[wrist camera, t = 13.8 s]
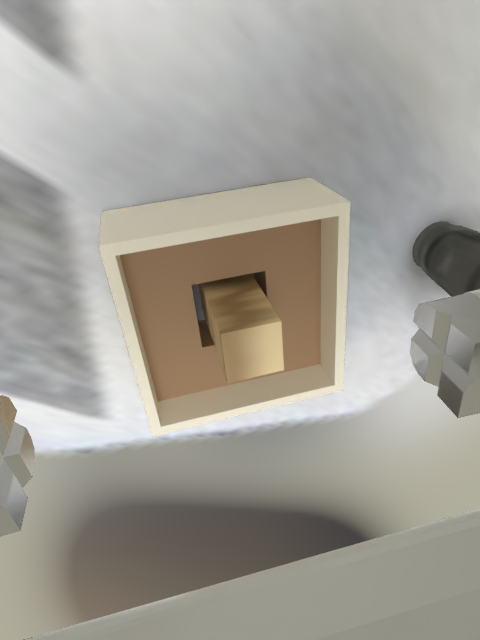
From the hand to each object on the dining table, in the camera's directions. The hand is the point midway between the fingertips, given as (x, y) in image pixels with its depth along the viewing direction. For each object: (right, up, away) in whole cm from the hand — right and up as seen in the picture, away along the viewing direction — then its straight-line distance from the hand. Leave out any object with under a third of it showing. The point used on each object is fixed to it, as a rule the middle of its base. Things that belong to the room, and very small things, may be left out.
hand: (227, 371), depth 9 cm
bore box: (-1, +4, +28) cm, 29 cm away
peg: (-1, +4, +28) cm, 29 cm away
